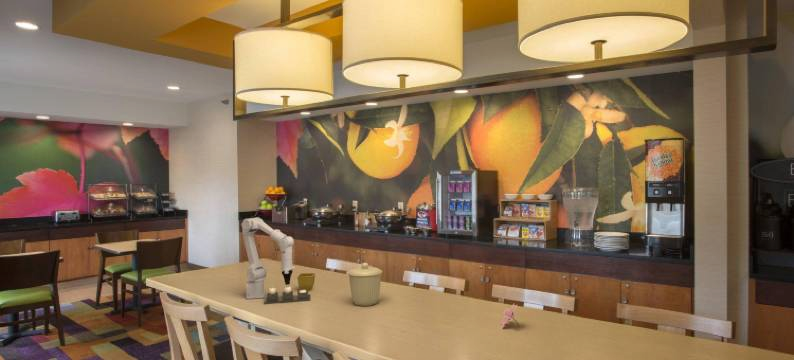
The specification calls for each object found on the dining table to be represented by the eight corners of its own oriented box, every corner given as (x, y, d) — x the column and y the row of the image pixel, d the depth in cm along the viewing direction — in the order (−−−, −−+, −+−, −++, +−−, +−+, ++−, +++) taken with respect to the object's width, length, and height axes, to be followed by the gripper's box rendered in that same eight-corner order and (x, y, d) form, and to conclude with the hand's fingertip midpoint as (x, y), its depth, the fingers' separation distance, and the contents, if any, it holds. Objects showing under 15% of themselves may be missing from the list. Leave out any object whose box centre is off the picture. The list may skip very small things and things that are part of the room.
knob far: (299, 298, 245) (299, 291, 245) (299, 296, 249) (299, 290, 249) (306, 297, 246) (306, 291, 246) (306, 295, 250) (306, 289, 250)
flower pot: (312, 291, 263) (312, 276, 263) (297, 292, 263) (297, 276, 263) (315, 288, 272) (315, 273, 272) (301, 288, 272) (300, 273, 272)
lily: (507, 322, 204) (496, 304, 203) (530, 315, 198) (520, 297, 197) (501, 338, 194) (490, 320, 193) (526, 332, 188) (514, 313, 187)
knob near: (268, 295, 242) (268, 289, 242) (269, 294, 246) (269, 287, 246) (275, 295, 243) (275, 288, 243) (276, 293, 247) (275, 287, 247)
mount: (264, 304, 239) (263, 296, 239) (265, 299, 249) (265, 292, 249) (310, 300, 243) (310, 293, 243) (310, 296, 253) (310, 288, 253)
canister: (341, 306, 232) (340, 264, 232) (360, 297, 248) (359, 258, 248) (371, 310, 224) (370, 267, 224) (389, 300, 240) (388, 260, 240)
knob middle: (284, 294, 244) (284, 288, 244) (284, 293, 247) (284, 286, 247) (291, 294, 245) (290, 287, 245) (291, 292, 248) (291, 286, 248)
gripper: (294, 261, 240) (294, 286, 240) (294, 256, 254) (295, 280, 254) (280, 262, 238) (281, 287, 238) (281, 257, 252) (282, 281, 252)
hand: (287, 284), depth 246 cm, fingers closed
